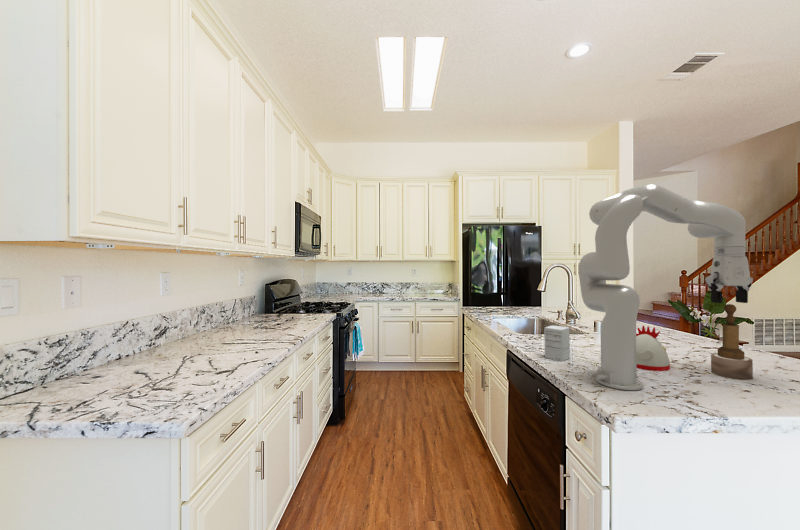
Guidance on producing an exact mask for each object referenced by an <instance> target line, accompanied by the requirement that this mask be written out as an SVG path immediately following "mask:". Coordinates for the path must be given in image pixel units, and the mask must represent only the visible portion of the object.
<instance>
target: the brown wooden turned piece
mask: <svg viewBox="0 0 800 530" xmlns="http://www.w3.org/2000/svg"><path fill="white" fill-rule="evenodd" d="M723 310H724V312H725V313H726V316H725V320H726V323H722V346H720V347H718V348H717V353H718V356H720V357H724V358H729V359H737V360H742V359H744V357H745V351H743V350H742V349H741V348H740V343H739V342H740V335H739V334H740V331H739V330H740V325H739V324H735V321H736V317H734V314H735V312H737V306H735V305H734V304H731V303H728V304H725V305H724V307H723Z"/></svg>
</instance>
